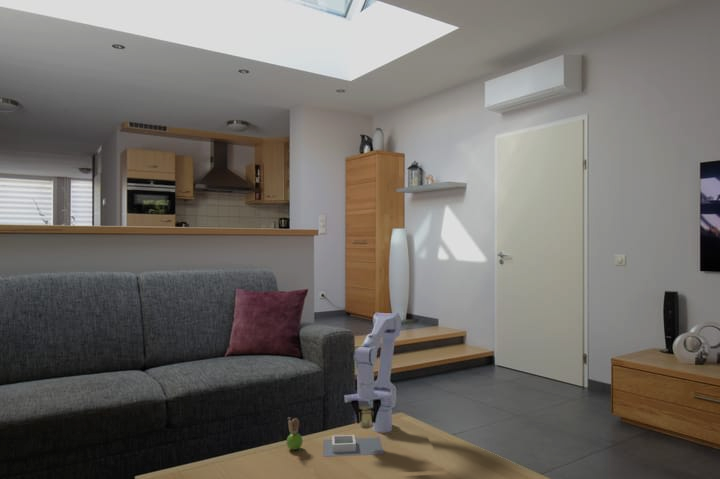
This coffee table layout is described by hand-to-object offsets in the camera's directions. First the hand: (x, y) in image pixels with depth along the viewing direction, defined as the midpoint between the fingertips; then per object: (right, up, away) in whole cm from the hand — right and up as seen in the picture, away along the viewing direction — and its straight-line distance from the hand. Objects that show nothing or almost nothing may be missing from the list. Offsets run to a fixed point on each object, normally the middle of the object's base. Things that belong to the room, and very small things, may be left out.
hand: (366, 422), depth 169 cm
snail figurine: (-25, -10, 0) cm, 27 cm away
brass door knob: (0, -1, 0) cm, 1 cm away
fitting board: (-5, -9, 0) cm, 10 cm away
